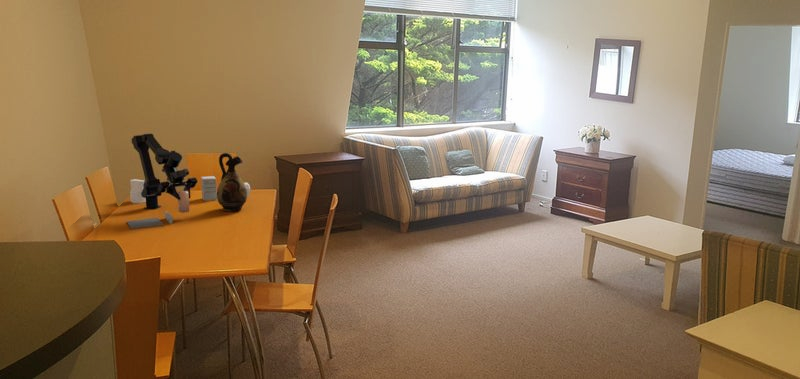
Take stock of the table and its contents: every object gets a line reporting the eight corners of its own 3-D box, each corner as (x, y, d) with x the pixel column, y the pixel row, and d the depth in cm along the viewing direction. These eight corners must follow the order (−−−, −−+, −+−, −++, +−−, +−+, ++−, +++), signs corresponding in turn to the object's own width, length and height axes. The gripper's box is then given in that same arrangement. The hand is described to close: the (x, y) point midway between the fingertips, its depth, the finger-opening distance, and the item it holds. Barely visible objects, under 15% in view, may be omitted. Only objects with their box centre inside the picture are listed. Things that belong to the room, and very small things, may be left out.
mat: (126, 222, 286) (126, 221, 286) (157, 218, 293) (157, 217, 293) (131, 229, 274) (131, 228, 274) (163, 225, 281) (162, 224, 281)
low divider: (165, 218, 294) (164, 211, 293) (167, 218, 295) (166, 211, 294) (170, 223, 284) (169, 216, 283) (172, 223, 285) (171, 216, 284)
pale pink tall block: (182, 209, 295) (180, 190, 293) (191, 210, 294) (190, 190, 292) (176, 212, 290) (175, 192, 288) (186, 212, 290) (185, 192, 287)
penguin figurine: (250, 182, 339) (229, 186, 333) (252, 197, 341) (231, 201, 335) (247, 181, 344) (226, 184, 338) (249, 195, 346) (228, 199, 340)
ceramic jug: (251, 206, 320) (249, 151, 314) (241, 213, 305) (239, 156, 299) (221, 205, 322) (218, 150, 315) (209, 212, 307) (206, 155, 300)
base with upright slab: (127, 202, 327) (125, 180, 324) (140, 199, 334) (139, 178, 332) (138, 204, 323) (136, 182, 320) (151, 200, 330) (150, 179, 328)
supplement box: (202, 198, 338) (200, 176, 335) (215, 197, 341) (214, 175, 338) (203, 201, 331) (202, 179, 328) (217, 200, 334) (216, 178, 332)
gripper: (158, 165, 283) (171, 192, 278) (194, 161, 297) (207, 186, 292) (152, 179, 290) (164, 205, 285) (187, 174, 304) (200, 199, 299)
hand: (184, 198), depth 290 cm, fingers closed on pale pink tall block, 5 cm apart
